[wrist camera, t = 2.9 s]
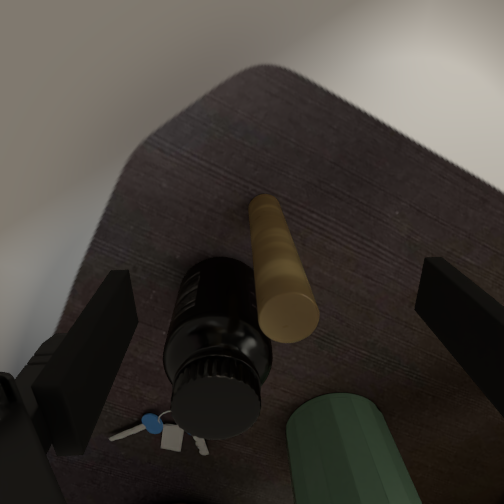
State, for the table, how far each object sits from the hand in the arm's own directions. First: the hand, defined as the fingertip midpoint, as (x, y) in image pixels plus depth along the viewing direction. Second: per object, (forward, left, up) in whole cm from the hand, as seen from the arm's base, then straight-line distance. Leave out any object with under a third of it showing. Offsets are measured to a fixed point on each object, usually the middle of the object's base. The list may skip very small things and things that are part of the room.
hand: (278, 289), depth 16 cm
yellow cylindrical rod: (0, 0, -12) cm, 12 cm away
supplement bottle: (+7, +3, -12) cm, 14 cm away
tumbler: (+12, +22, -12) cm, 28 cm away
